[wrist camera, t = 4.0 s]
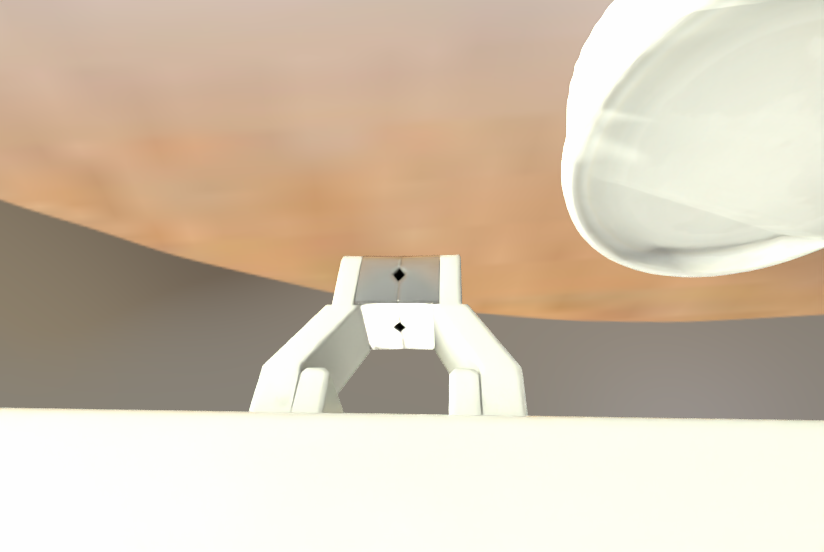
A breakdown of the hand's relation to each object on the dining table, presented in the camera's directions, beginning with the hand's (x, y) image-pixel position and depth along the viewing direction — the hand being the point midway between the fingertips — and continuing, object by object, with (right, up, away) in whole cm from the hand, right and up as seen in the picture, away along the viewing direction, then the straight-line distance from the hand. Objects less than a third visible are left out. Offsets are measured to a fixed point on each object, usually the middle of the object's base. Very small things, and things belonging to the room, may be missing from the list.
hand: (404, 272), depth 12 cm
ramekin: (+11, +7, +5) cm, 14 cm away
